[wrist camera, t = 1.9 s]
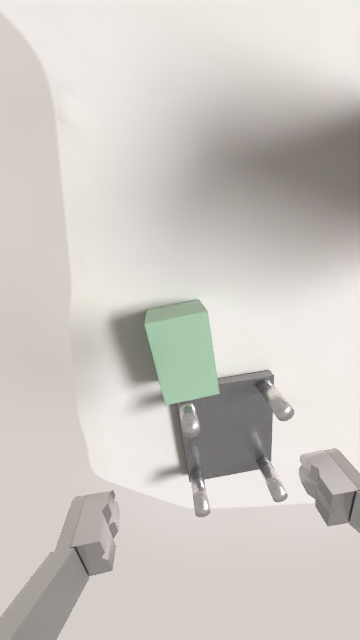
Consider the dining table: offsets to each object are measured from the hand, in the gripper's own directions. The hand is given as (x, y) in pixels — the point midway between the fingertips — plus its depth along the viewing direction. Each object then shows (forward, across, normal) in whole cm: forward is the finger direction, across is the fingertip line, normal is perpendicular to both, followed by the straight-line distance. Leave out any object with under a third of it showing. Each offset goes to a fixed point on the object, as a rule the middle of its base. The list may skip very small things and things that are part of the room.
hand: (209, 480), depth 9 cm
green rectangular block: (+13, 0, 0) cm, 13 cm away
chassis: (+13, -4, +11) cm, 18 cm away
